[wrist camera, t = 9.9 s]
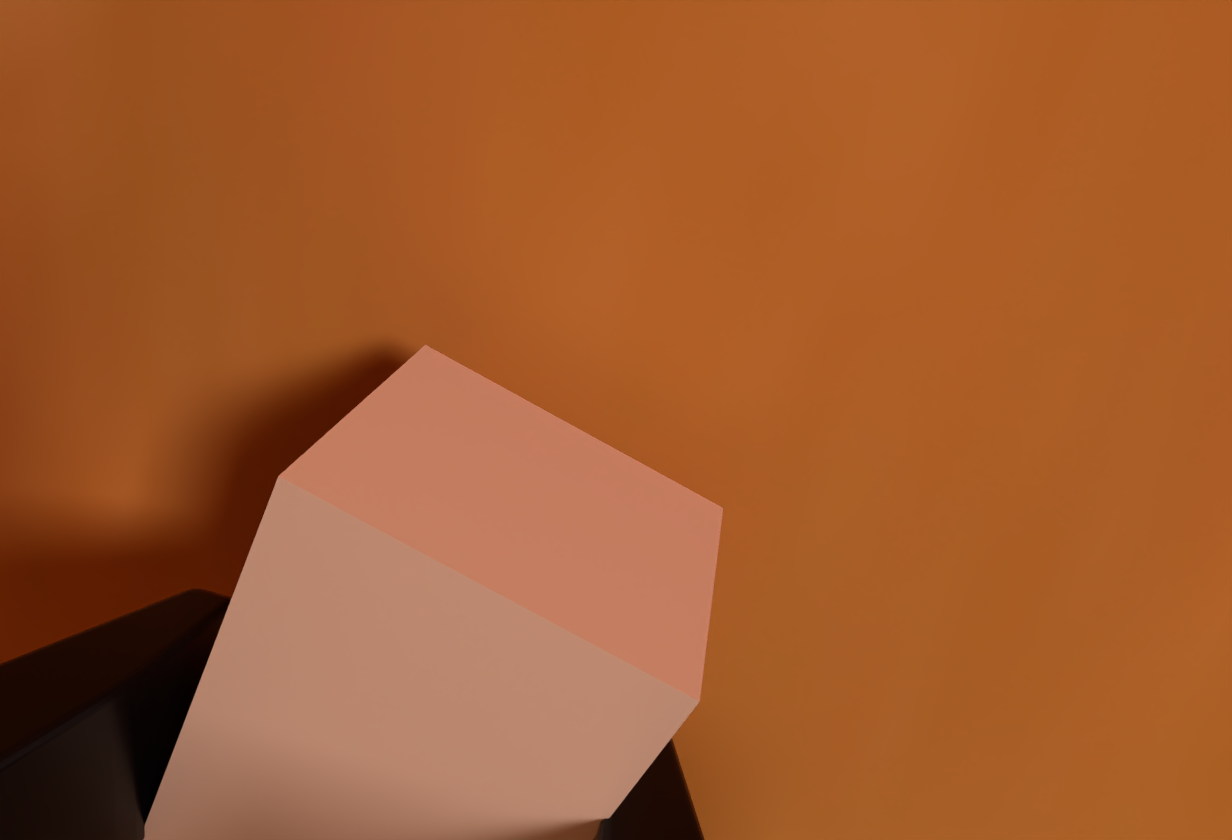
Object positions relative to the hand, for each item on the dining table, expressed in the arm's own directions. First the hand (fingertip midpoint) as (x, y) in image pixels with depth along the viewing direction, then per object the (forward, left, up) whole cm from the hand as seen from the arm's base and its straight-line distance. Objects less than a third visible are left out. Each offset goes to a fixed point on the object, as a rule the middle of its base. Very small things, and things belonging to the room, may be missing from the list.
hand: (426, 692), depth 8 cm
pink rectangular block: (0, 0, -1) cm, 1 cm away
